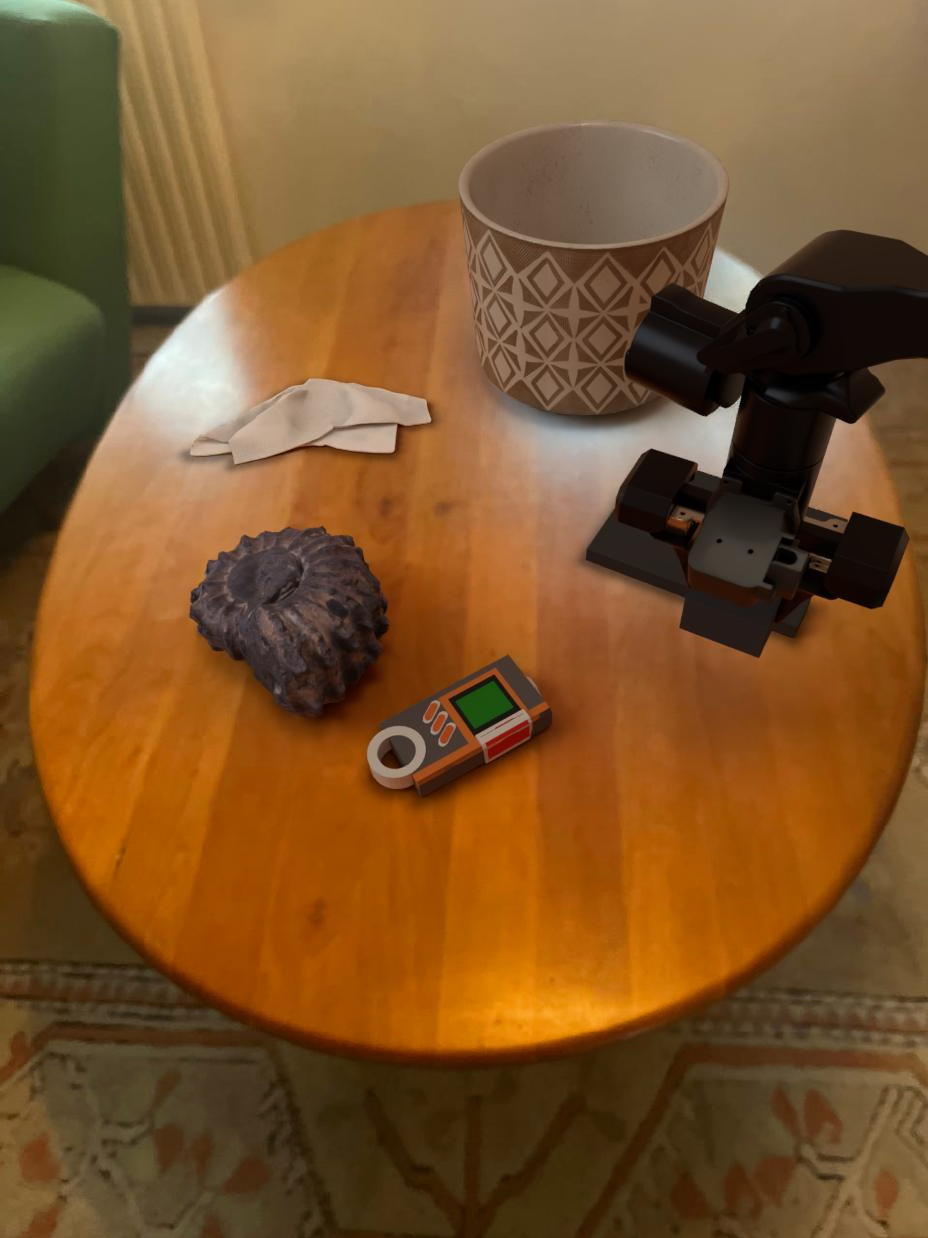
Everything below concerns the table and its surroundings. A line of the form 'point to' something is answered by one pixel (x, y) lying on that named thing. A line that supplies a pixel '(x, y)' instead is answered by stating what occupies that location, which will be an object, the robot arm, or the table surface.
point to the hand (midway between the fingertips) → (735, 603)
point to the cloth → (316, 421)
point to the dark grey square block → (729, 621)
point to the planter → (582, 252)
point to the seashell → (294, 613)
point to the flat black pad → (668, 555)
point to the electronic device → (459, 728)
